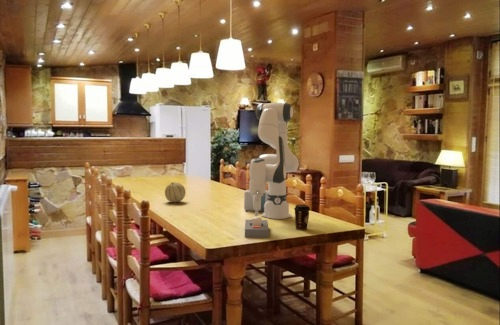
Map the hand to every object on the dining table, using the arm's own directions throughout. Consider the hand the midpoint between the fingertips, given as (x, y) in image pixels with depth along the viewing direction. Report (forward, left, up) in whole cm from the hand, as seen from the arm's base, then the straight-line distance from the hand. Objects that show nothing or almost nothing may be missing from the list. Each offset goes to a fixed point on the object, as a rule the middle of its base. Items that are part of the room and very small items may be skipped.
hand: (256, 215), depth 216 cm
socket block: (0, 0, -9) cm, 9 cm away
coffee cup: (-9, +25, -9) cm, 28 cm away
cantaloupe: (-81, -58, -9) cm, 100 cm away
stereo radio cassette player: (-58, +3, -9) cm, 59 cm away
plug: (0, 0, -8) cm, 8 cm away
